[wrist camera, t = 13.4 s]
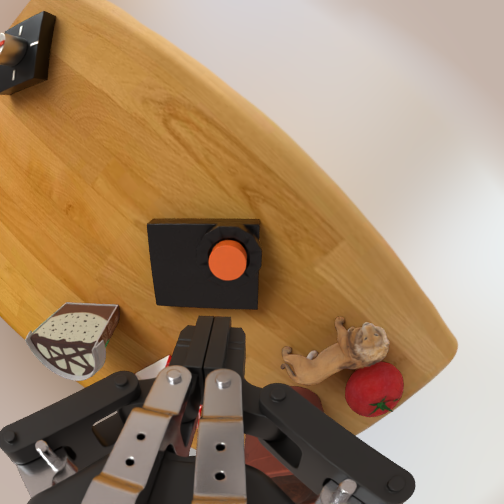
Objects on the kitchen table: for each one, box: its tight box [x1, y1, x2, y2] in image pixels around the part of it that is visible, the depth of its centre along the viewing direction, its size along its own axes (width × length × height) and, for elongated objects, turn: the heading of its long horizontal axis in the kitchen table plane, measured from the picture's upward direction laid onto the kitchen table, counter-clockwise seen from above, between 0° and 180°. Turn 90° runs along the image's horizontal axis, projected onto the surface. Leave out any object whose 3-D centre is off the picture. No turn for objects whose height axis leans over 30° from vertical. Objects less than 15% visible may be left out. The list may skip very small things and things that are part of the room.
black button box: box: [147, 219, 262, 310], centre depth 32 cm, size 10×12×4 cm
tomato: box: [345, 361, 404, 417], centre depth 37 cm, size 9×9×8 cm
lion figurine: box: [281, 317, 390, 385], centre depth 34 cm, size 15×5×9 cm, turn 133°
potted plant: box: [244, 386, 324, 504], centre depth 32 cm, size 18×22×25 cm
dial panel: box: [0, 11, 56, 95], centre depth 23 cm, size 10×8×3 cm
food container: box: [25, 302, 120, 381], centre depth 34 cm, size 12×6×10 cm, turn 93°
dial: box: [0, 33, 27, 66], centre depth 19 cm, size 4×4×5 cm
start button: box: [209, 240, 247, 280], centre depth 29 cm, size 4×4×2 cm
